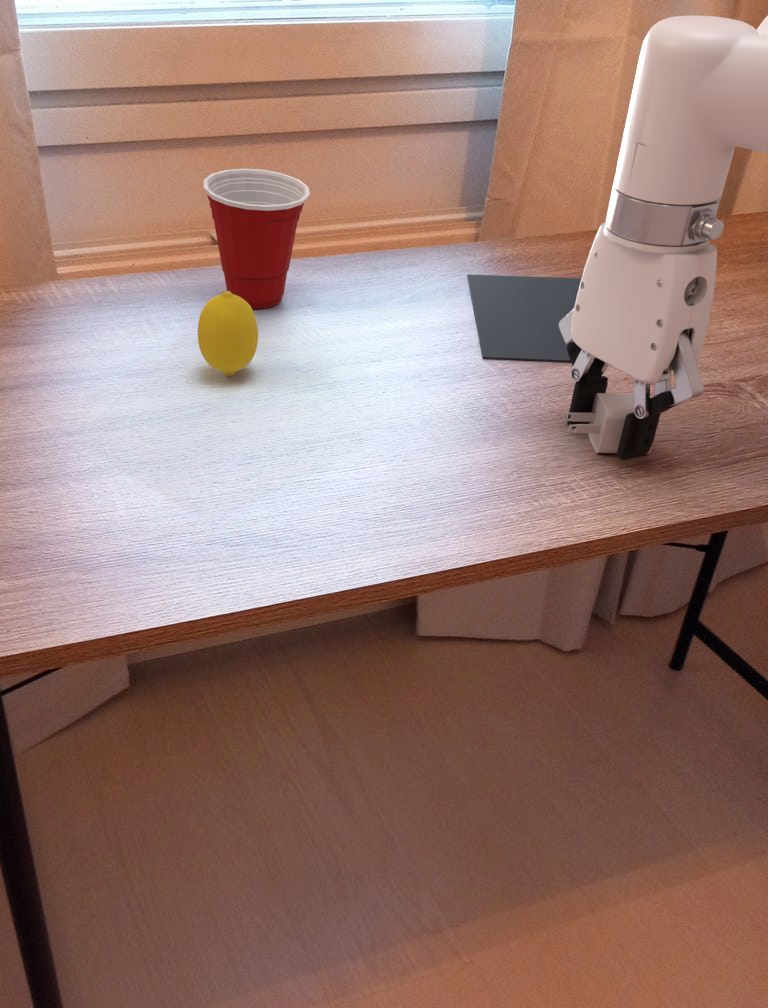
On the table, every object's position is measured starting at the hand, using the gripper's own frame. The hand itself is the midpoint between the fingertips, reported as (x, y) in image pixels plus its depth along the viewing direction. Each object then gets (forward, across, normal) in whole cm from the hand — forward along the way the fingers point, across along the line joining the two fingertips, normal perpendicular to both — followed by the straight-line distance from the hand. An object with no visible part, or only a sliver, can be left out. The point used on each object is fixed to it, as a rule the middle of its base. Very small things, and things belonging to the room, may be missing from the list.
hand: (607, 437), depth 86 cm
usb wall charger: (+1, 0, 0) cm, 1 cm away
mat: (+1, +23, -15) cm, 28 cm away
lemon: (+1, +27, +22) cm, 35 cm away
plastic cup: (+1, +42, +11) cm, 44 cm away
